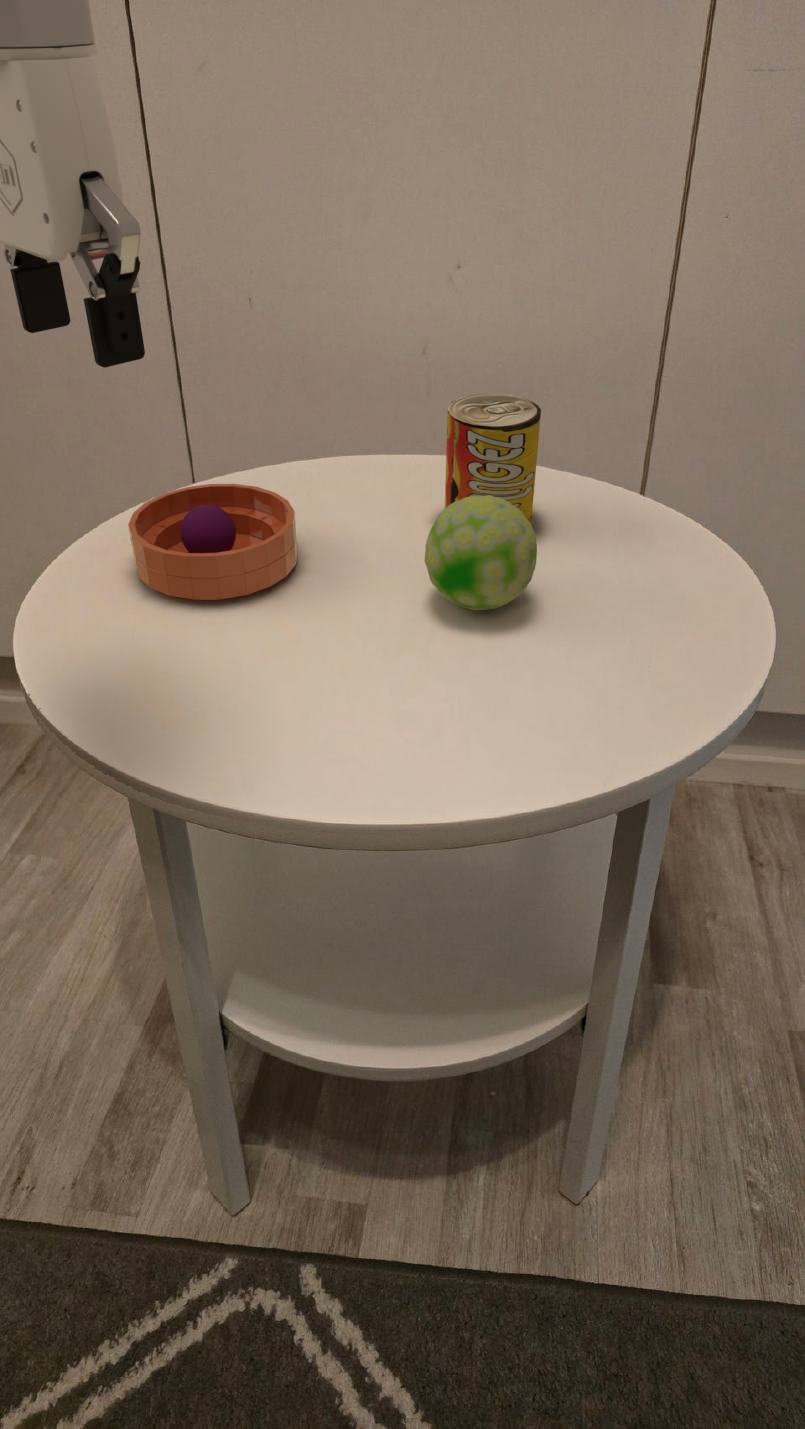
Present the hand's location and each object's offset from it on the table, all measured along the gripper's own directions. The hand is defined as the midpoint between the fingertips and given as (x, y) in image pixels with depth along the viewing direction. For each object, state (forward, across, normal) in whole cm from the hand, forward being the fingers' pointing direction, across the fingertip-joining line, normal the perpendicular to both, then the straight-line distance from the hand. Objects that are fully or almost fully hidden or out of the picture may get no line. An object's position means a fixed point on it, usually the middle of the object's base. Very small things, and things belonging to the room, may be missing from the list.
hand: (83, 344), depth 64 cm
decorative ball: (+26, +10, +28) cm, 40 cm away
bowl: (+26, -12, +15) cm, 32 cm away
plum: (+26, -12, +15) cm, 32 cm away
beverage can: (+26, 0, +40) cm, 48 cm away
